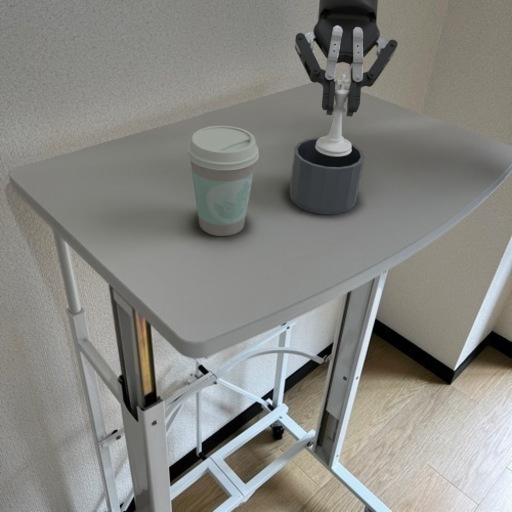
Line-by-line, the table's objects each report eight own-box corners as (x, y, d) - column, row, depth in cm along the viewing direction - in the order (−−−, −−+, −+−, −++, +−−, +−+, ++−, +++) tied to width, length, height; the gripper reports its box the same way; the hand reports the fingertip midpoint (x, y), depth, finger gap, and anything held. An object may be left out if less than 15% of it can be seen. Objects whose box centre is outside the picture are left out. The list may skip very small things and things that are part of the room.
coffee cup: (193, 245, 67) (191, 156, 60) (185, 209, 74) (182, 125, 67) (261, 239, 69) (267, 152, 62) (247, 204, 76) (251, 122, 69)
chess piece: (310, 141, 76) (319, 69, 70) (344, 139, 77) (355, 68, 71) (321, 157, 72) (332, 82, 66) (356, 155, 73) (370, 81, 67)
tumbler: (350, 182, 82) (358, 139, 78) (360, 216, 75) (369, 170, 71) (288, 179, 82) (292, 136, 78) (291, 213, 75) (296, 167, 70)
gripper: (298, -36, 68) (286, 96, 66) (409, -28, 68) (402, 105, 65) (295, 1, 76) (284, 120, 73) (396, 7, 75) (388, 128, 73)
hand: (340, 112), depth 69 cm, fingers closed on chess piece
